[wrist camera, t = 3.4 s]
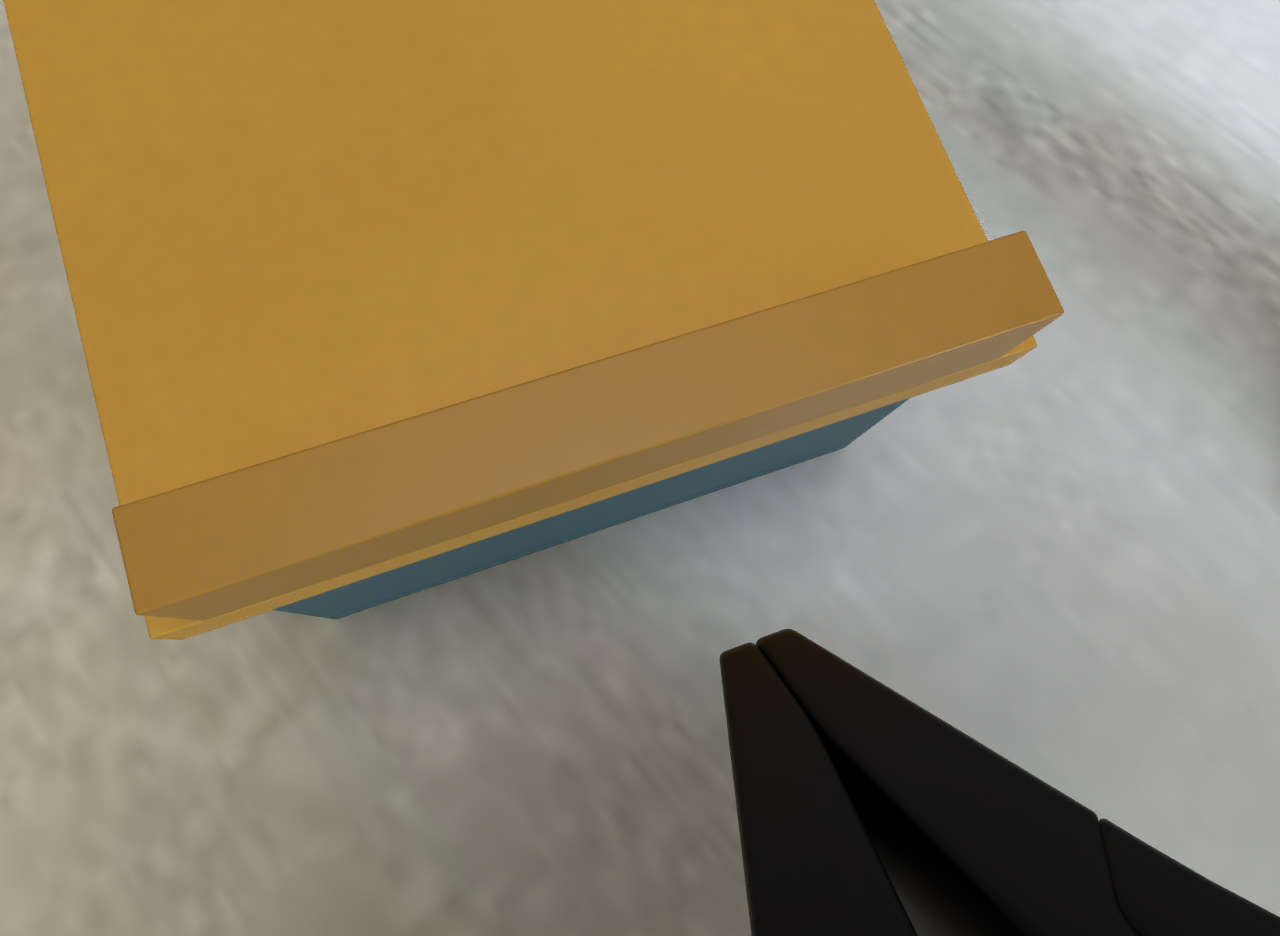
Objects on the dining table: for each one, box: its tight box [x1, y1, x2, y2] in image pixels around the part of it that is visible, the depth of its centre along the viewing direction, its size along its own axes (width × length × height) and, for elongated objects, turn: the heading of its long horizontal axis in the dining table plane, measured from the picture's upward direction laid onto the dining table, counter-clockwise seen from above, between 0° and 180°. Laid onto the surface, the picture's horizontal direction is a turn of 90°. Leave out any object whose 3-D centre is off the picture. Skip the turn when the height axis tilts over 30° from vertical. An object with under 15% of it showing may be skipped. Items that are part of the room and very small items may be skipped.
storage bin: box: [273, 398, 909, 619], centre depth 19 cm, size 13×15×8 cm
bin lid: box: [4, 0, 1064, 640], centre depth 14 cm, size 14×16×3 cm
